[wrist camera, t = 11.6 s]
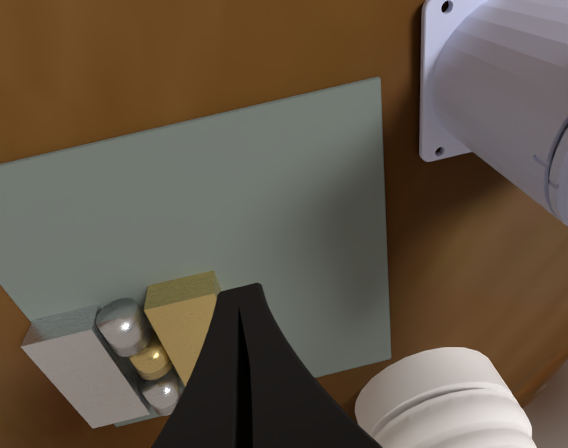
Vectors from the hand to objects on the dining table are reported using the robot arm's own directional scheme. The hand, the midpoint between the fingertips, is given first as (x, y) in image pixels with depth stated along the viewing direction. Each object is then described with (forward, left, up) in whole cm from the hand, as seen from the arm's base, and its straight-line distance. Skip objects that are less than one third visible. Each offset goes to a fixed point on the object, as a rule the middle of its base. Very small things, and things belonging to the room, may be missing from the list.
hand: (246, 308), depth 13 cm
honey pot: (-11, +26, -10) cm, 30 cm away
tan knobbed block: (+6, +11, -10) cm, 15 cm away
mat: (+3, +8, -10) cm, 13 cm away
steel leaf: (+11, +11, -10) cm, 18 cm away
